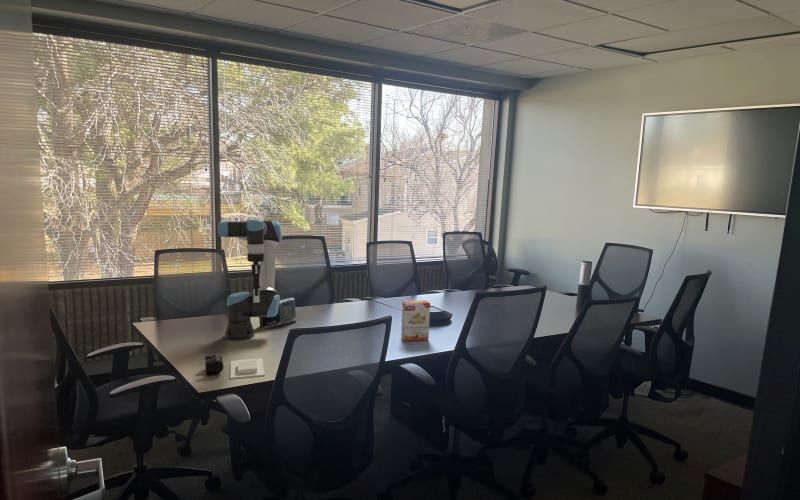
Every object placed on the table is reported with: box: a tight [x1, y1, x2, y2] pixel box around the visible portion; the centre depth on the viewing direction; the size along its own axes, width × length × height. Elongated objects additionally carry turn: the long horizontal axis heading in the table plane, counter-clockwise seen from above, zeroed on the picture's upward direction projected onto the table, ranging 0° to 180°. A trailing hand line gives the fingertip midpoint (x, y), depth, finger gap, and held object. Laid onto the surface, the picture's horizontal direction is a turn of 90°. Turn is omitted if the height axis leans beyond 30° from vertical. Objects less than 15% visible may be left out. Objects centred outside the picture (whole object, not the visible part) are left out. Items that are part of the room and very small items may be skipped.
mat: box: [229, 357, 265, 380], centre depth 226 cm, size 20×14×1 cm
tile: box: [238, 360, 257, 374], centre depth 224 cm, size 2×8×10 cm
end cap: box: [204, 352, 224, 377], centre depth 222 cm, size 10×7×7 cm
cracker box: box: [400, 300, 431, 342], centre depth 271 cm, size 14×6×21 cm, turn 105°
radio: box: [258, 296, 297, 330], centre depth 291 cm, size 23×9×15 cm, turn 126°
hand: (256, 301), depth 239 cm, fingers closed
